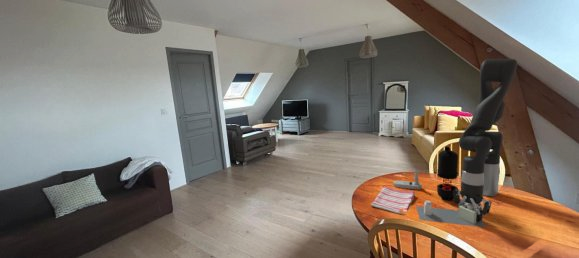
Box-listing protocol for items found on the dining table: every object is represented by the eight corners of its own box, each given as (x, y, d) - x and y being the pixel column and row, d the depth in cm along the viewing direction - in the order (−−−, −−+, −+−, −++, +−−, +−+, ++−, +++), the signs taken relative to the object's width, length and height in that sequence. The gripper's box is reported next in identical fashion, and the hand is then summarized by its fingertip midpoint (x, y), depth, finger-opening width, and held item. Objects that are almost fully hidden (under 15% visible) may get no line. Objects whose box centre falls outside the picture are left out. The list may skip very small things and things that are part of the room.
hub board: (419, 222, 104) (420, 206, 103) (416, 209, 115) (416, 194, 114) (486, 230, 95) (487, 213, 94) (475, 215, 106) (476, 199, 105)
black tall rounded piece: (456, 208, 113) (459, 148, 108) (434, 203, 119) (436, 146, 114) (459, 197, 123) (462, 141, 118) (439, 192, 129) (441, 139, 124)
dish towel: (415, 196, 128) (415, 190, 128) (406, 217, 110) (406, 210, 110) (383, 190, 139) (383, 184, 138) (370, 207, 120) (370, 201, 120)
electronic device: (393, 169, 144) (421, 171, 136) (394, 184, 146) (421, 186, 138) (392, 172, 139) (421, 174, 132) (393, 187, 141) (421, 190, 133)
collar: (458, 217, 104) (458, 206, 103) (466, 213, 106) (467, 202, 105) (473, 223, 98) (474, 212, 97) (481, 219, 101) (482, 208, 100)
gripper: (449, 177, 104) (447, 212, 107) (486, 189, 91) (483, 228, 94) (459, 174, 107) (457, 208, 110) (497, 184, 94) (494, 223, 97)
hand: (469, 217), depth 102 cm, fingers closed on collar, 6 cm apart
